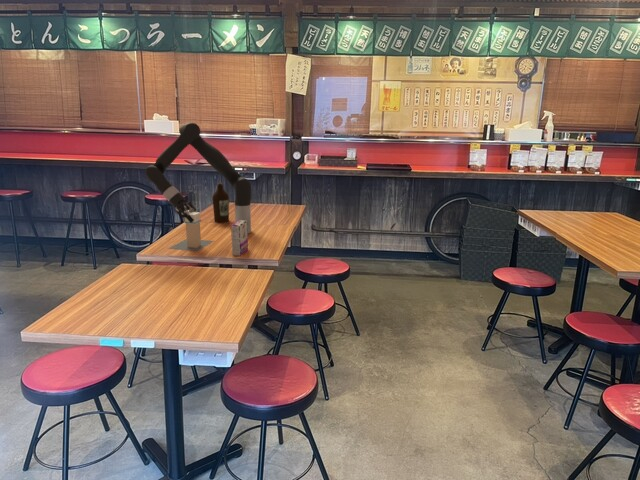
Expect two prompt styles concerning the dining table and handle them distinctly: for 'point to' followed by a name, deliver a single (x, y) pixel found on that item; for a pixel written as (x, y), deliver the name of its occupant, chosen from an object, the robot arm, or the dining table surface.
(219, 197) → the olive oil
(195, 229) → the kraft carton
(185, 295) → the dining table surface
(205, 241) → the packing mat
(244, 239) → the candy bar box
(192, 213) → the carton lid
